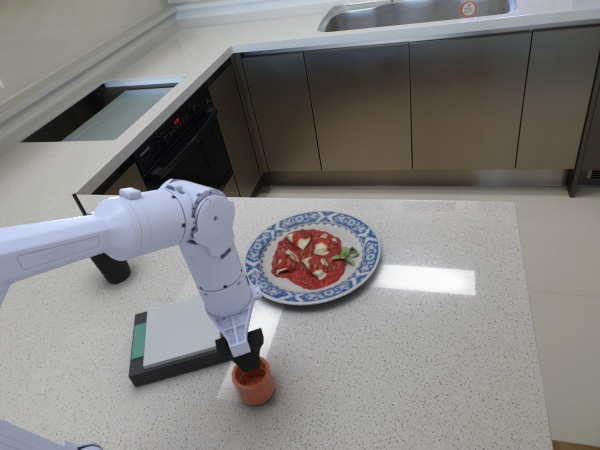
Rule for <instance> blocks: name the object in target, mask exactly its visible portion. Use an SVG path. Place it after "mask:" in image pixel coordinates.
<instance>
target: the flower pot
mask: <svg viewBox="0 0 600 450" xmlns="http://www.w3.org/2000/svg"><path fill="white" fill-rule="evenodd" d="M230 376H231V381H232V384H233V386H234V388H235V391H236V393H237V395H238V397H239V399H240V400H241V401H242V402H243V403H244V404H247V405H250V406H260V405H263V404H264V403H266V402H267V401H269V400H270V399H271V397H272V396H273V395H274V392H275V389H276V381H275V378H274V376H273V372H272V369H271V366H270V363H269V362H268V360H267V359H266V358H265V357H263V356H260V368H259V369H256V370H253V371H250V372H247V373H245V372H243V371H242V370H241V369H240V368H239V367H238V366H237V365H236V364H234V366H233V368H232V371H231V375H230Z"/></svg>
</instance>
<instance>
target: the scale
mask: <svg viewBox="0 0 600 450" xmlns="http://www.w3.org/2000/svg"><path fill="white" fill-rule="evenodd" d="M222 337H224V336H223V335H222V333H221V332H220V331H219V329H218V328H217V327H216V325H215V324H214V323H213V322H212V320H211V319H210V318H209V316H208V315H207V313H206V311H205V307H204V302H203V300H202V297H201V295H200V294H199V295H195V296H192V297H189V298H185V299H181V300H177V301H174V302H173V301H172V302H170V303H166V304H163V305H158V306H155V307H152V308H148V309H147V310H146V311H142V312H139V313H135V314H134V320H133V331H132V339H131V350H130V359H129V367H128V368H129V369H128V377H127V378H128V379H129V380H130V381H131V384H133V386H134V387H135V388H137V387H142V386H144V385H148V384H152V383H155V382H158V381H162V380H166V379H169V378H172V377H176V376H181V375H184V374H187V373H191V372H195V371H198V370H201V369H206V368H208V367H212V366H215V365H219V364H223V363H227V362H230V361H231V360H228V359H223V358H221V357H220V356H219V354H218V353H217V350H216V344H215V340H216V339H219V338H222Z"/></svg>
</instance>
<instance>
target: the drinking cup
mask: <svg viewBox="0 0 600 450" xmlns="http://www.w3.org/2000/svg"><path fill="white" fill-rule="evenodd" d="M71 196H72V199H73V200H74V202H75V203H76V205H77V207H78V209H79V210H80V213H81V214H82V215H81V216H88V215H92V214H93V213H94V211H95V210H93V211H90V212H87V210H85V208H84V205H83V204H82V202H81V200H80V199H79V197H78V195H77V193H76V192H74V193H72V194H71ZM89 259H90V260H91V261H92V263H93V264H94V265H95V267H96V268H97V270H98V271H99V272H100V274H102V276H103V277H104V279H105V280H106V282H108V283H109V284H111V285H116V284H120V283H123V282H124V281H125V280H127V279H128V278H129V277H130V276H131V273H132V269H131V268H130V265H129V262H128V260H124V261H118V260H115V259H113V258H111V257H110V256H108V255H107V254H106V253H101V254H98V255H95V256H92V257H89Z"/></svg>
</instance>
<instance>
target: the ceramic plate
mask: <svg viewBox="0 0 600 450" xmlns="http://www.w3.org/2000/svg"><path fill="white" fill-rule="evenodd" d="M380 258H381V244H380V240H379V237H378V235H377V233H376V232H375V231H374V229H373V228H372V227H371V226H370V225H369V224H368V223H366V222H365V221H363V220H362V219H360V218H358V217H357V216H354V215H352V214H348V213H344V212H339V211H332V210H312V211H306V212H300V213H297V214H296V213H295V214H292V215H290V216H287V217H285V218H282V219H280V220H278V221H276V222H274V223H272V224H271V225H269V226H267V227H266V228H265V229H262V231H261V232H259V234H257V235H256V236H255V238H253V240H252V241H251V242H250V244H249V245H248V247H247V248H246V251H245V253H244V257H243V260H242V267H243V270H244V273H245V275H246V276H247V277H248V280H249V284H250V286H253V285H259V287H260V290H261V294H262V297H264V298H265V299H268V300H271V301H273V302H275V303H279V304H284V305H290V306H291V305H292V306H312V305H319V304H323V303H328V302H331V301H334V300H337V299H339V298H342V297H344V296H346V295H348V294H350V293H352V292H353V291H355V290H356V289H358V288H359V287H361V286H362V285H363V284H364V283H366V281H368V279H370V277H371V276H372V274H373V273H374V272H375V271H376V268H377V267H378V265H379V261H380Z"/></svg>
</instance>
